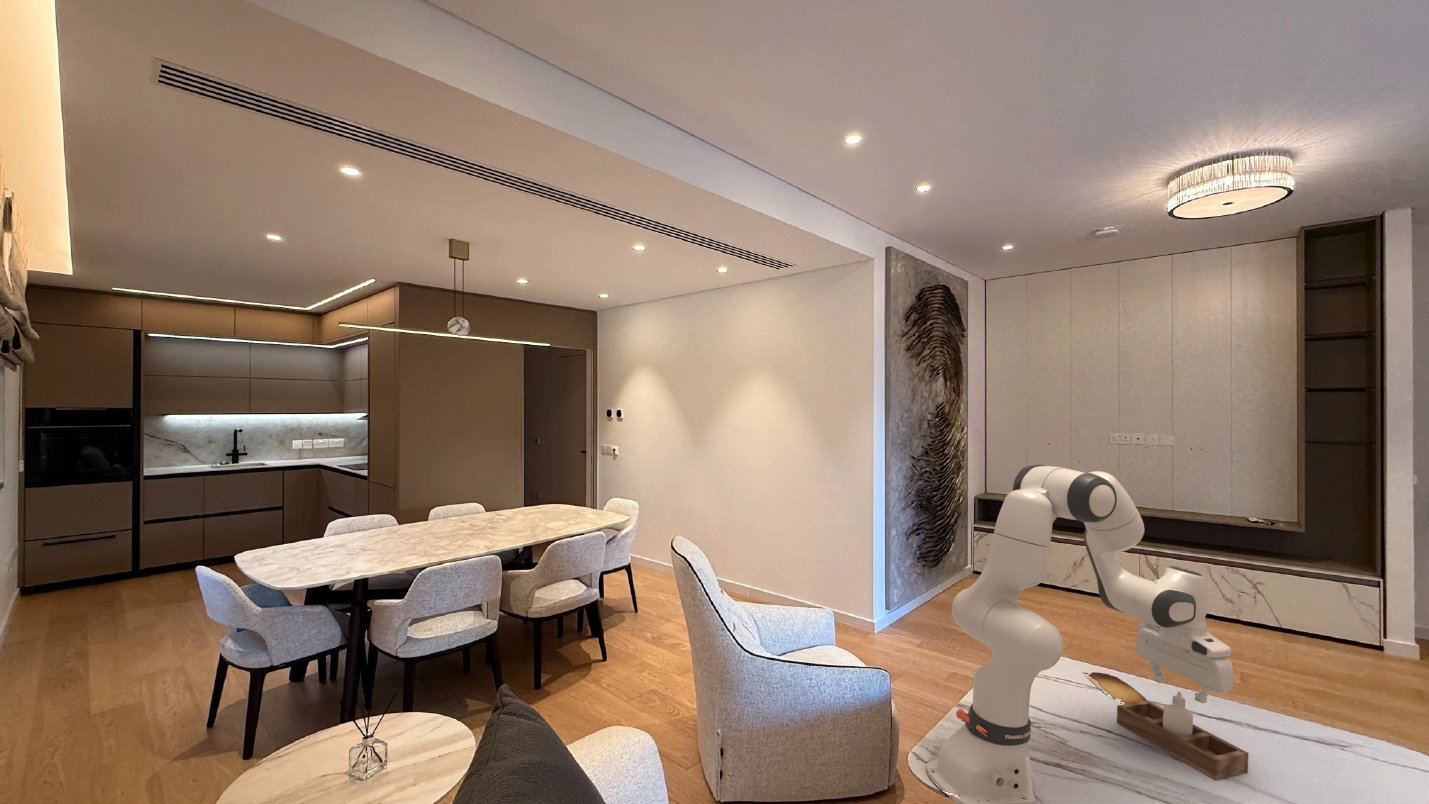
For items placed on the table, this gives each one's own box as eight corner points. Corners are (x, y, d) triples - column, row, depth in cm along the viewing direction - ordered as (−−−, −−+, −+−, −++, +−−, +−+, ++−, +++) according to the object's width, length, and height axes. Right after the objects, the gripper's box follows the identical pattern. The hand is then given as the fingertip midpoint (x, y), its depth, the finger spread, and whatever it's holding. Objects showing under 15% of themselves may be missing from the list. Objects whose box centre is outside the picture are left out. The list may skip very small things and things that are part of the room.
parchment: (1080, 672, 176) (1080, 669, 176) (1114, 674, 175) (1115, 671, 175) (1128, 719, 151) (1128, 716, 151) (1168, 722, 150) (1169, 718, 150)
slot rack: (1215, 780, 127) (1216, 760, 127) (1116, 722, 148) (1117, 705, 148) (1247, 772, 130) (1248, 753, 130) (1146, 717, 151) (1146, 700, 151)
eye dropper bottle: (1169, 733, 142) (1172, 685, 142) (1195, 746, 137) (1198, 697, 137) (1158, 736, 141) (1161, 687, 141) (1183, 749, 136) (1186, 699, 136)
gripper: (1130, 619, 148) (1127, 672, 148) (1220, 654, 128) (1216, 715, 128) (1148, 617, 149) (1145, 669, 150) (1239, 652, 130) (1236, 712, 130)
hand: (1179, 691), depth 139 cm, fingers open, 8 cm apart
